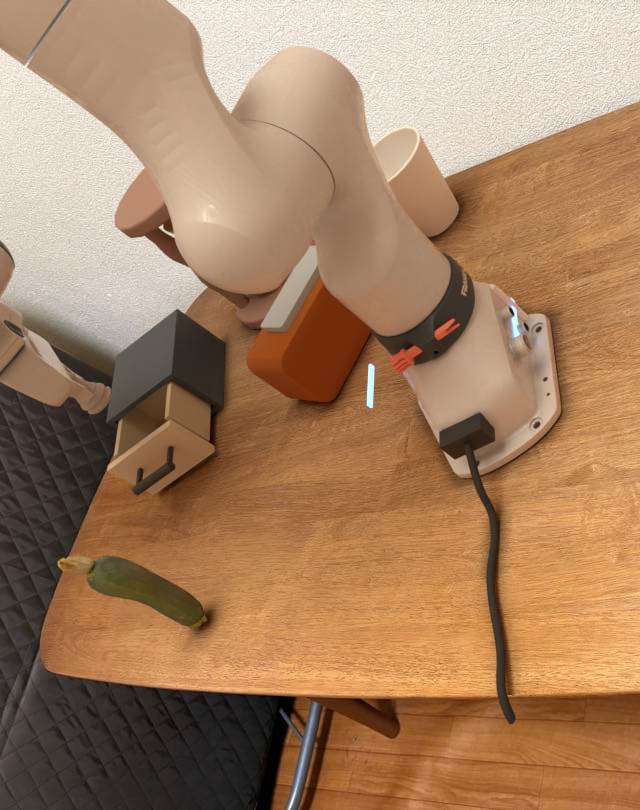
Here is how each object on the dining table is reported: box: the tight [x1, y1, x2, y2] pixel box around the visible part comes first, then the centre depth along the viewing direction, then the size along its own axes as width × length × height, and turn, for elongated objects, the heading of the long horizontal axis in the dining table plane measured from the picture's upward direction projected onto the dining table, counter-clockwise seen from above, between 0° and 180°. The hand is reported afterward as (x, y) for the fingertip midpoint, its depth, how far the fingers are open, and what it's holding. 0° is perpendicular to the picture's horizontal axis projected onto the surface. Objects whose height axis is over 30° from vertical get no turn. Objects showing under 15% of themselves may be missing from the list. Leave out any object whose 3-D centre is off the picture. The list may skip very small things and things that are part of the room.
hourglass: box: [114, 167, 314, 330], centre depth 129 cm, size 18×18×25 cm
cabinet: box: [105, 308, 226, 430], centre depth 132 cm, size 16×14×10 cm
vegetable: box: [57, 555, 208, 630], centre depth 96 cm, size 4×4×20 cm
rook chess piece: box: [63, 364, 112, 415], centre depth 113 cm, size 4×4×8 cm
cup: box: [372, 125, 460, 238], centre depth 118 cm, size 12×12×12 cm
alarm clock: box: [246, 240, 372, 403], centre depth 115 cm, size 24×8×11 cm, turn 155°
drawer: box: [106, 379, 216, 496], centre depth 123 cm, size 19×12×8 cm, turn 17°
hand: (85, 391), depth 114 cm, fingers closed on rook chess piece, 3 cm apart
